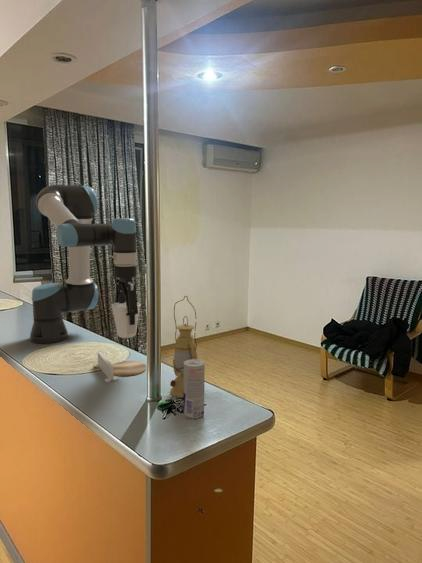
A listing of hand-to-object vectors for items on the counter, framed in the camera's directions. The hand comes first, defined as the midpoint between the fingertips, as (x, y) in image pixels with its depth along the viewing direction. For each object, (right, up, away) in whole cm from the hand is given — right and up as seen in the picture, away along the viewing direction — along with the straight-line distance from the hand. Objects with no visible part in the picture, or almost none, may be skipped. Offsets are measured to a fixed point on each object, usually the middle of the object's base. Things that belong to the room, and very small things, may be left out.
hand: (126, 329), depth 140 cm
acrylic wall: (-7, -15, -1) cm, 16 cm away
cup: (0, -2, 0) cm, 2 cm away
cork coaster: (0, -14, +2) cm, 14 cm away
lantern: (+21, -17, -15) cm, 31 cm away
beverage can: (+24, -20, -29) cm, 43 cm away
